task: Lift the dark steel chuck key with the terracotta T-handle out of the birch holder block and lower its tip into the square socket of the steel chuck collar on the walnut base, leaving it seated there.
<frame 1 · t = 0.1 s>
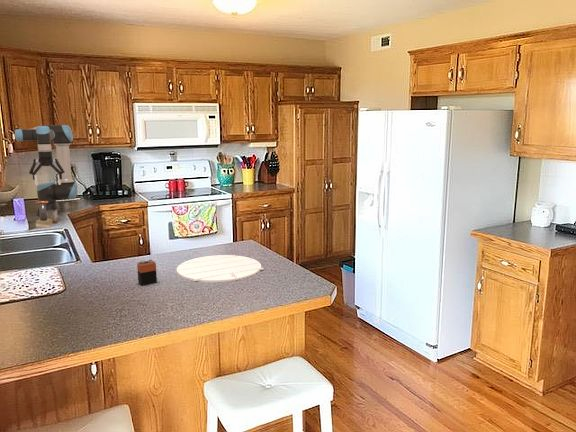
hand: (48, 184, 301), 28 cm above the counter, tool pointing down, fingers open, 13 cm apart
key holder: (44, 226, 311), on the counter
battery: (147, 283, 202), on the counter
chuck: (49, 221, 324), on the counter
lazy susan: (219, 269, 222), on the counter
chuck key: (44, 225, 311), resting in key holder
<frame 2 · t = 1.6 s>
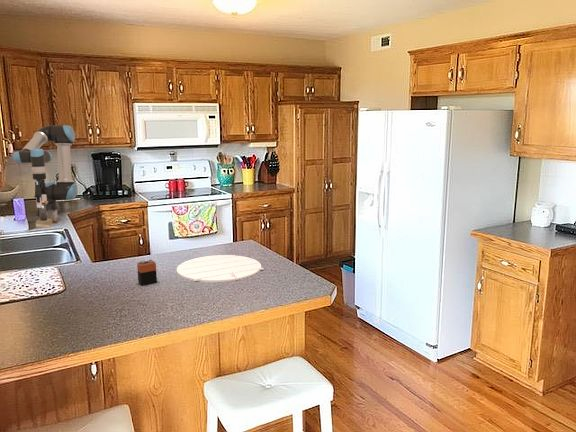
hand: (42, 205, 308), 13 cm above the counter, tool pointing down, fingers open, 13 cm apart
nothing on the counter moved.
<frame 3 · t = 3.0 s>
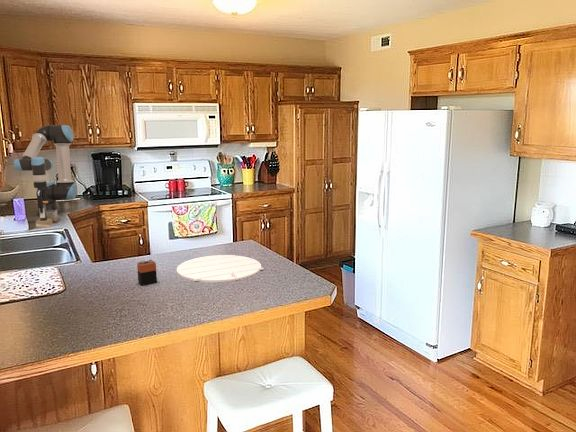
hand: (43, 216, 310), 6 cm above the counter, tool pointing down, fingers closed on chuck key, 4 cm apart
chuck key: (44, 225, 311), resting in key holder, touching gripper
everything else where it was.
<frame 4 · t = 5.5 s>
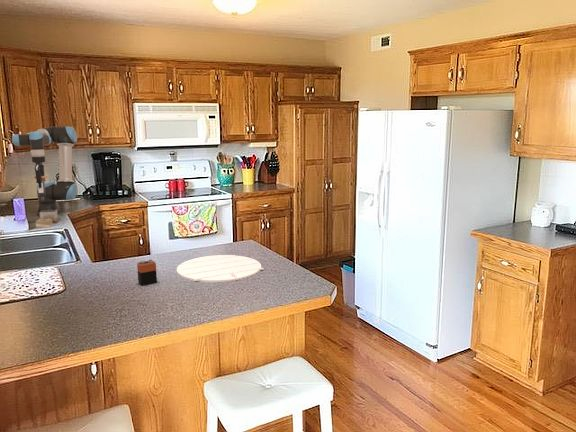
hand: (42, 192, 309), 22 cm above the counter, tool pointing down, fingers closed on chuck key, 4 cm apart
chuck key: (43, 200, 310), point 16 cm above the counter, touching gripper
everything else where it was.
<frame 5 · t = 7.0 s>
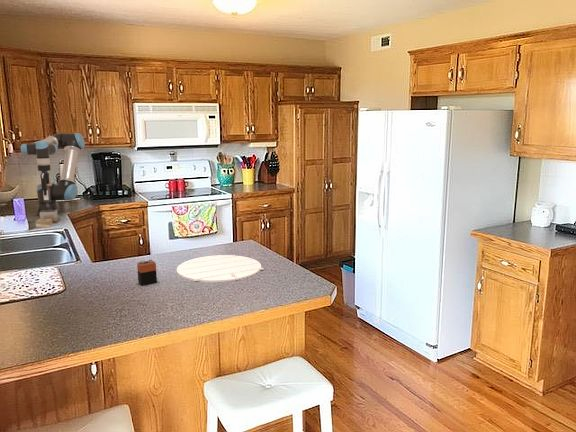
hand: (47, 199, 321), 16 cm above the counter, tool pointing down, fingers closed on chuck key, 4 cm apart
chuck key: (47, 207, 322), point 10 cm above the counter, touching gripper
everything else where it was.
when the fingers open (11 cm above the counter, at t = 8.3 s): chuck key stays where it is, resting on chuck.
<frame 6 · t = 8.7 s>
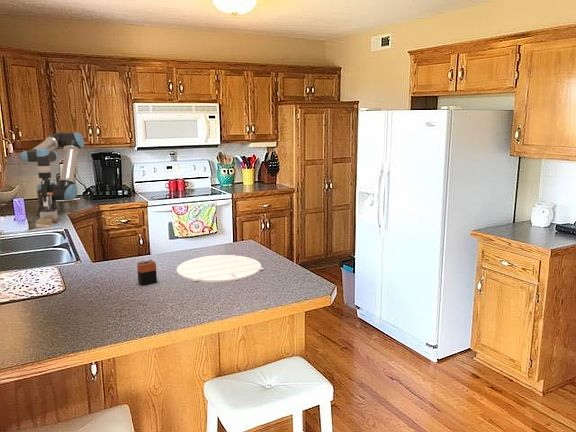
hand: (47, 204, 322), 12 cm above the counter, tool pointing down, fingers open, 10 cm apart
chuck key: (48, 216, 324), point 4 cm above the counter, touching chuck
everything else where it was.
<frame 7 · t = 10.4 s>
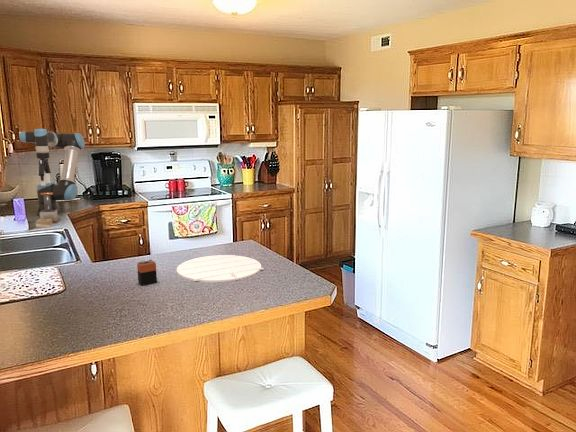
hand: (45, 184, 320), 26 cm above the counter, tool pointing down, fingers open, 13 cm apart
nothing on the counter moved.
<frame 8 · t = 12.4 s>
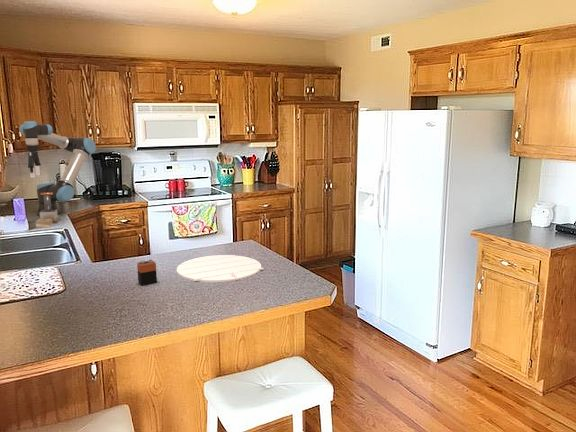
hand: (35, 176, 321), 31 cm above the counter, tool pointing down, fingers open, 13 cm apart
nothing on the counter moved.
at the end: chuck key 0.0 cm off-centre on the chuck, point 3.9 cm above the chuck's base; chuck key tilted 0°; the gripper is holding nothing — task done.
